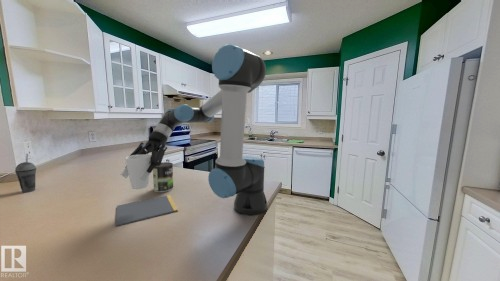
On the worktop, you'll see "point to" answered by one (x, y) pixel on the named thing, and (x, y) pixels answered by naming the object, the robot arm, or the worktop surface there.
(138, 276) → the worktop surface
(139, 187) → the foam cup
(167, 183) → the coffee can
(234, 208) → the robot arm
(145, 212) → the mat
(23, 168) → the beverage cup
